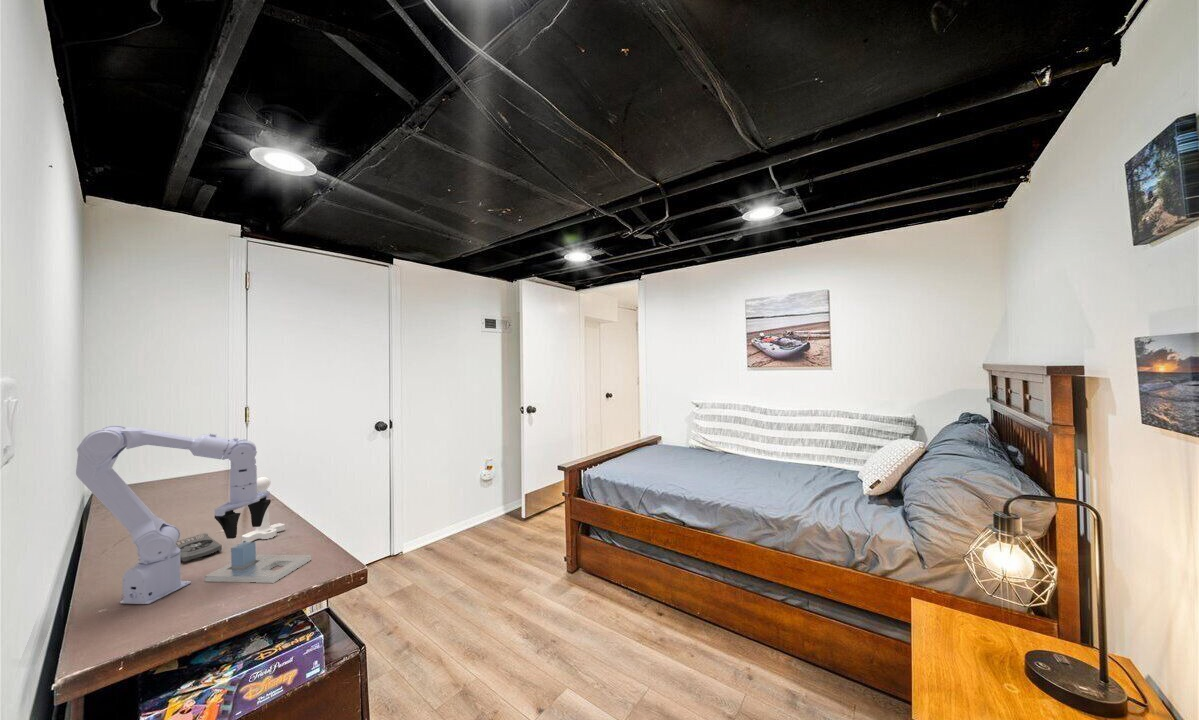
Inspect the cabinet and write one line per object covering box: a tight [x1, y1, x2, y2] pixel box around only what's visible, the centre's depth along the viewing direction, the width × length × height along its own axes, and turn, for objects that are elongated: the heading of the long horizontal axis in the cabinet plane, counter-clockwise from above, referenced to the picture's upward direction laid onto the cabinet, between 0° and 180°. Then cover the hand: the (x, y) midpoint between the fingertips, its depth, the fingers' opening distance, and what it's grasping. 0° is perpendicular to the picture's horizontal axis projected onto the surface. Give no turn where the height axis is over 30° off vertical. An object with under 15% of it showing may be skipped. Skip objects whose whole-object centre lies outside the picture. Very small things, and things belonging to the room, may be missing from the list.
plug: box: [230, 541, 257, 570], centre depth 112 cm, size 4×4×7 cm
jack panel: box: [204, 553, 312, 584], centre depth 111 cm, size 12×20×2 cm, turn 85°
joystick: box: [241, 476, 286, 543], centre depth 134 cm, size 11×8×20 cm
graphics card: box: [175, 532, 223, 562], centre depth 122 cm, size 17×4×12 cm
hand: (244, 532), depth 112 cm, fingers open, 7 cm apart
